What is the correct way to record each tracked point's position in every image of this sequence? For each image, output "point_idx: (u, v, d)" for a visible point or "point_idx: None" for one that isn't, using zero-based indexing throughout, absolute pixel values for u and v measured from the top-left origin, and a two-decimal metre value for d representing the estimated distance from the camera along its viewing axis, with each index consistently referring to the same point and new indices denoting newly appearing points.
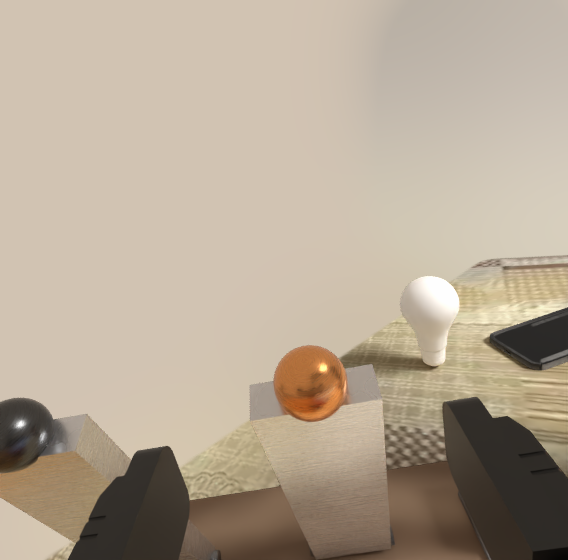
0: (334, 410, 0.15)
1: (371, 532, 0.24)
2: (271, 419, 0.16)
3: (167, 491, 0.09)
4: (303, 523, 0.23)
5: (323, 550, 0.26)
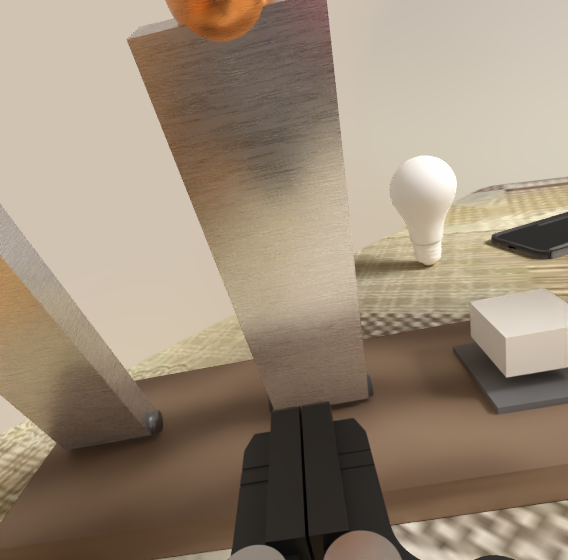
0: None
1: (339, 359, 0.19)
2: (160, 38, 0.10)
3: None
4: (248, 331, 0.18)
5: (283, 394, 0.21)
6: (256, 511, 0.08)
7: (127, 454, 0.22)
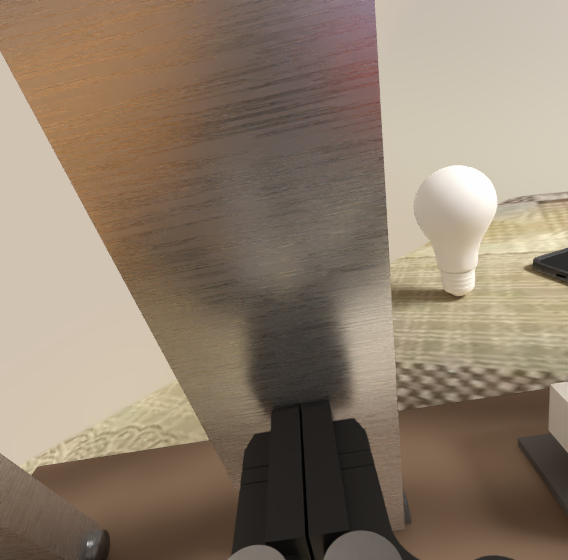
0: None
1: None
2: None
3: None
4: (221, 444, 0.11)
5: None
6: (256, 510, 0.08)
7: None
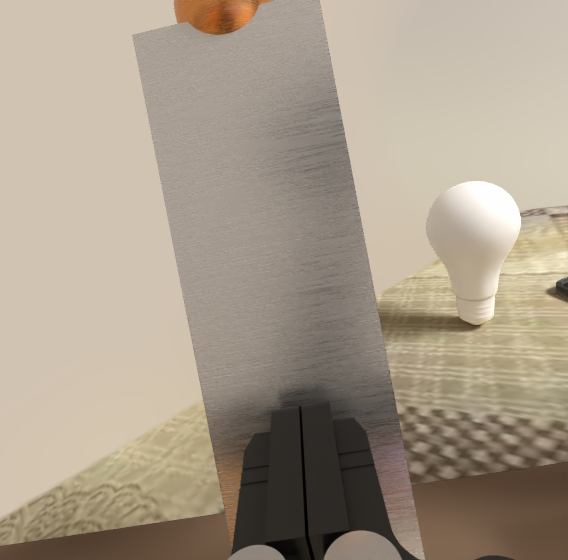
0: None
1: None
2: (162, 32, 0.11)
3: None
4: (221, 446, 0.11)
5: None
6: (256, 511, 0.08)
7: None
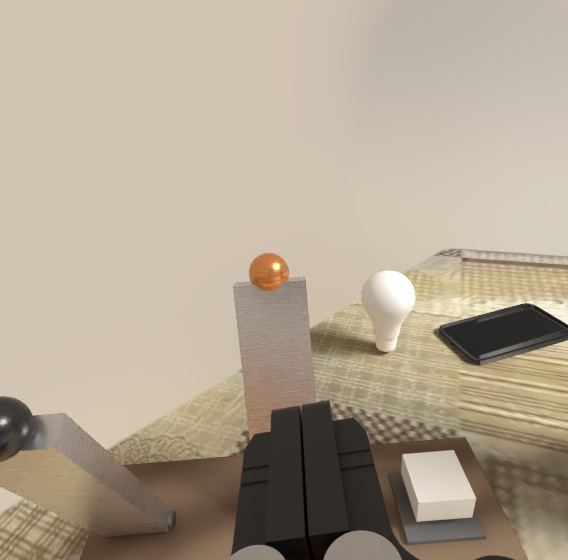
0: (278, 277, 0.28)
1: None
2: (245, 287, 0.28)
3: None
4: None
5: None
6: (256, 511, 0.08)
7: (150, 544, 0.31)
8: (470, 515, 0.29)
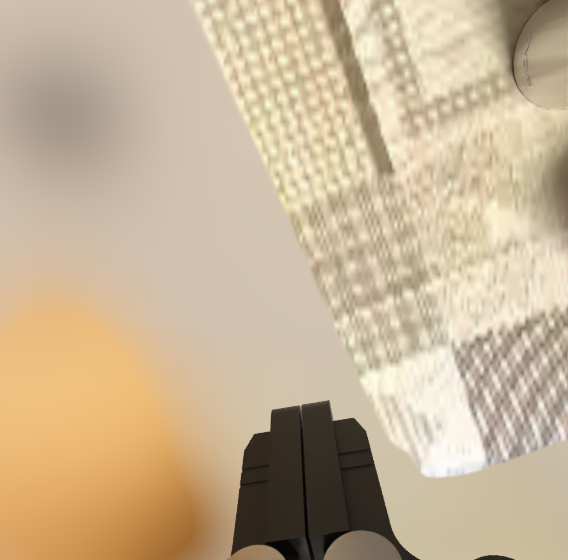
0: None
1: None
2: None
3: None
4: None
5: None
6: (255, 510, 0.08)
7: None
8: None
